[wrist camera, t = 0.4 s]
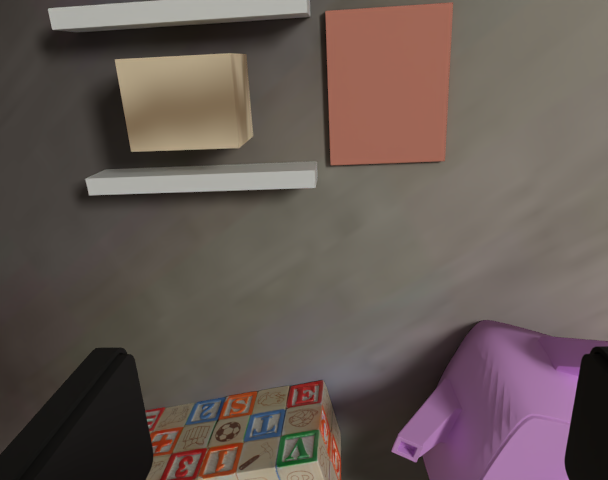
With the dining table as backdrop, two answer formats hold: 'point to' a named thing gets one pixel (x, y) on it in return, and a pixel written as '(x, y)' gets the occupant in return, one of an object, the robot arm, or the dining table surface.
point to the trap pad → (388, 83)
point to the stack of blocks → (249, 437)
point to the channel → (176, 12)
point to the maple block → (186, 102)
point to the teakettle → (499, 407)
